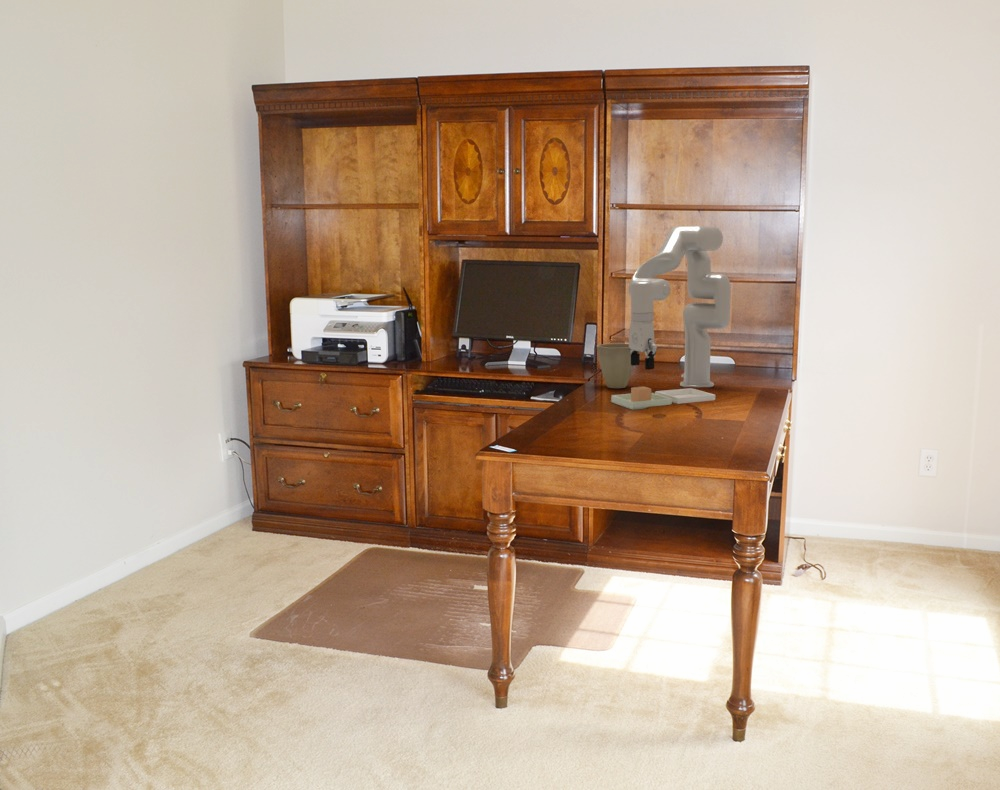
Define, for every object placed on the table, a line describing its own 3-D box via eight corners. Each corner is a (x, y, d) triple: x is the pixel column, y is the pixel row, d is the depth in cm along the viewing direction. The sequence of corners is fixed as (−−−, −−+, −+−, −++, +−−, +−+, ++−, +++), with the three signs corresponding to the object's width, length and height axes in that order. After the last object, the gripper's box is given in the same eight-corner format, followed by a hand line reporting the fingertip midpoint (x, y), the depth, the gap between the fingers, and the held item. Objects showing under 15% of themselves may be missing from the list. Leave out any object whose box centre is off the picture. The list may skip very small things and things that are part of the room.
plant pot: (643, 386, 363) (644, 344, 361) (621, 391, 352) (621, 348, 350) (611, 382, 373) (612, 342, 370) (589, 387, 362) (589, 345, 360)
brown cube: (631, 401, 329) (631, 387, 328) (643, 400, 330) (643, 386, 330) (638, 404, 324) (638, 389, 323) (651, 403, 326) (651, 388, 325)
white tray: (655, 398, 338) (655, 391, 337) (691, 394, 343) (691, 388, 343) (677, 405, 324) (678, 398, 324) (715, 401, 330) (715, 394, 329)
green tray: (611, 402, 332) (611, 395, 331) (648, 398, 337) (649, 391, 337) (632, 409, 318) (632, 402, 317) (671, 406, 323) (671, 398, 323)
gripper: (620, 315, 329) (620, 364, 332) (645, 320, 313) (645, 372, 316) (639, 314, 331) (639, 362, 335) (665, 319, 316) (665, 370, 319)
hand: (642, 367), depth 326 cm, fingers open, 9 cm apart
